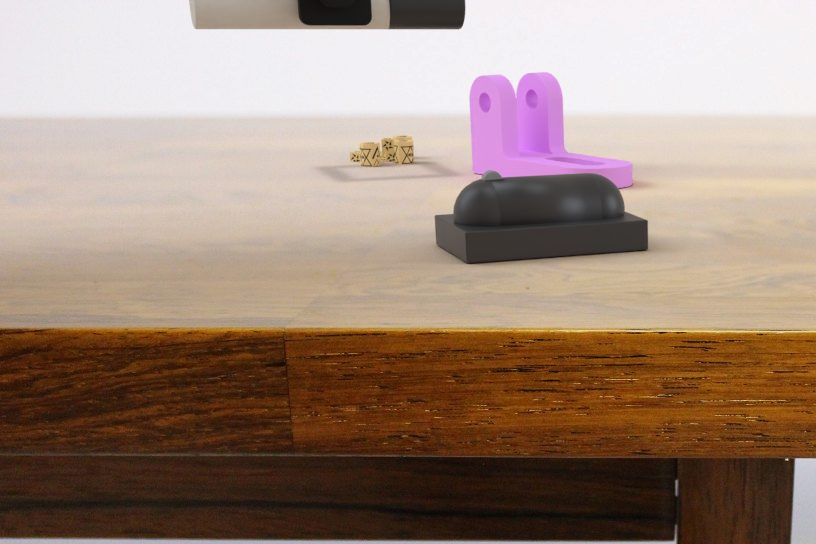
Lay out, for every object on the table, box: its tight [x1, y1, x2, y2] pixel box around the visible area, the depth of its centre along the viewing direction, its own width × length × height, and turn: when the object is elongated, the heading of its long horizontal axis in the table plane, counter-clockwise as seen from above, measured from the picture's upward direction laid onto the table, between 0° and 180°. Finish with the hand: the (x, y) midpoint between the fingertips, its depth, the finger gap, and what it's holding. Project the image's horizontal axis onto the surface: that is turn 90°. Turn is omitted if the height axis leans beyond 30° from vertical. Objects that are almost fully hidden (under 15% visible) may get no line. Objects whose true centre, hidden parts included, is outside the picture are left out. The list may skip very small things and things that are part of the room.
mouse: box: [434, 170, 649, 264], centre depth 79 cm, size 10×6×4 cm, turn 115°
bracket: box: [468, 71, 633, 189], centre depth 105 cm, size 13×6×7 cm, turn 45°
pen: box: [188, 0, 466, 30], centre depth 69 cm, size 12×2×2 cm, turn 115°
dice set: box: [349, 134, 415, 168], centre depth 114 cm, size 5×5×2 cm
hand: (329, 20), depth 69 cm, fingers closed on pen, 2 cm apart
